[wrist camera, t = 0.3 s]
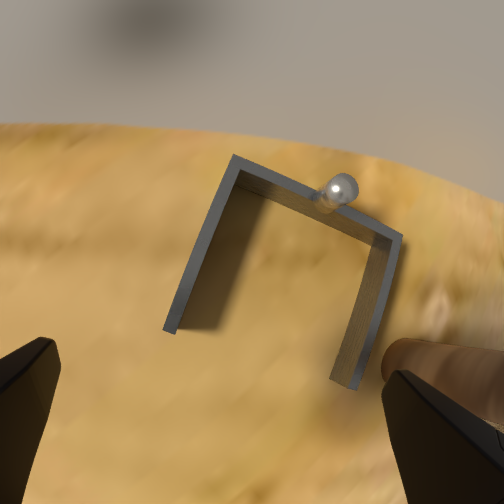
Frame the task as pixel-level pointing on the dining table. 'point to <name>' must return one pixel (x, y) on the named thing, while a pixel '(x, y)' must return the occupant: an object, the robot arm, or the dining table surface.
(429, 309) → the dining table surface
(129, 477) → the dining table surface
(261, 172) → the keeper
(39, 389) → the robot arm
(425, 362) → the peg
